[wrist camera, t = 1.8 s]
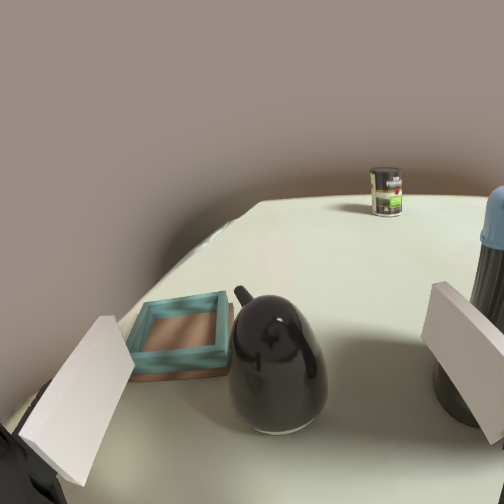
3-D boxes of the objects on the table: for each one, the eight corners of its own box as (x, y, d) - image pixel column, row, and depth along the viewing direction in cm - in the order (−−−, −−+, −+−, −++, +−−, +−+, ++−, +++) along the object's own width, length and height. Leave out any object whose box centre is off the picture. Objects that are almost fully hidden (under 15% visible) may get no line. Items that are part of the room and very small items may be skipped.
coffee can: (408, 213, 80) (407, 169, 74) (385, 219, 78) (384, 172, 72) (388, 206, 89) (386, 166, 84) (365, 211, 87) (363, 168, 82)
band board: (233, 307, 49) (229, 288, 48) (235, 373, 34) (229, 352, 33) (149, 319, 49) (141, 301, 48) (126, 381, 34) (114, 362, 33)
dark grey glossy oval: (292, 365, 34) (280, 259, 28) (346, 413, 26) (358, 300, 20) (221, 401, 30) (184, 296, 24) (265, 464, 22) (234, 366, 16)
